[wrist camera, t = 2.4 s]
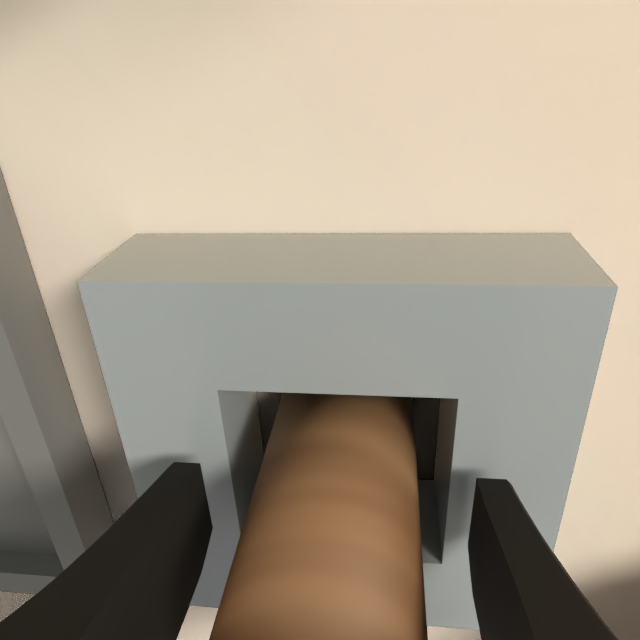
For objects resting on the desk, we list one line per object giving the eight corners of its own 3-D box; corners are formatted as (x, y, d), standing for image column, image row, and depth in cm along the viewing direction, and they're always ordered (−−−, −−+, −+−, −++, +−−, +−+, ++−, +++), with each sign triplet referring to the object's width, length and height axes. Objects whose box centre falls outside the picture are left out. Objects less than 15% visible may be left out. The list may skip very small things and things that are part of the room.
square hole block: (512, 545, 16) (533, 634, 14) (197, 523, 18) (166, 603, 15) (570, 233, 12) (618, 286, 9) (136, 233, 13) (76, 281, 10)
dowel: (410, 460, 15) (424, 744, 9) (286, 454, 16) (221, 722, 10) (416, 352, 14) (436, 613, 8) (277, 350, 14) (190, 593, 8)
